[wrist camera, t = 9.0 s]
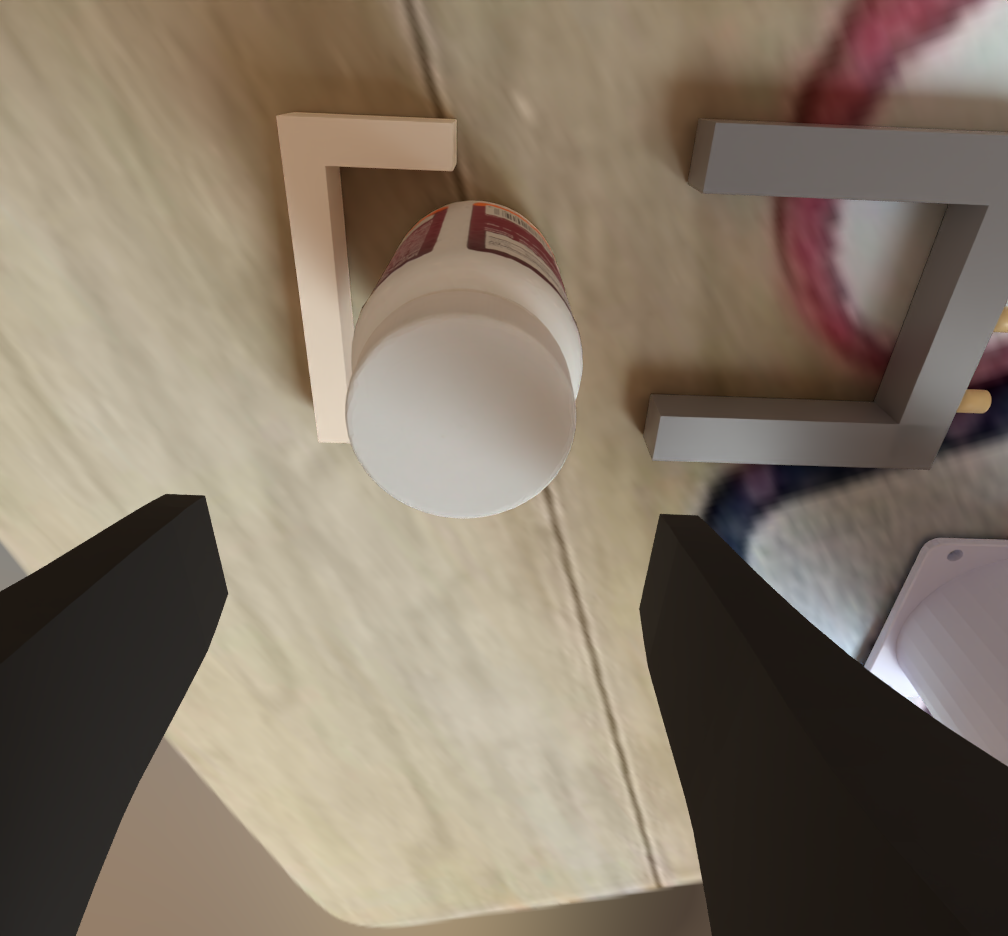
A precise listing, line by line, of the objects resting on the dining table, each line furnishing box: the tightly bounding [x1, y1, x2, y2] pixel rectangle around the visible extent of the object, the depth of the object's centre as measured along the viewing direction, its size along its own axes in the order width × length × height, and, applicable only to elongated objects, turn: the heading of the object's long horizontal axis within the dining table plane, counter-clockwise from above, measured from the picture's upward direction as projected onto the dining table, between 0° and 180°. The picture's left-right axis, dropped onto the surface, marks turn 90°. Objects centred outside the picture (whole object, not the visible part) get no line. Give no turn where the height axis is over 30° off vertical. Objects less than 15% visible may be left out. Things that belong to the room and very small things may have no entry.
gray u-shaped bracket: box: [643, 118, 1008, 470], centre depth 18 cm, size 10×9×2 cm
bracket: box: [276, 112, 457, 443], centre depth 17 cm, size 4×8×2 cm, turn 178°
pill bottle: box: [345, 200, 583, 518], centre depth 15 cm, size 5×5×8 cm
